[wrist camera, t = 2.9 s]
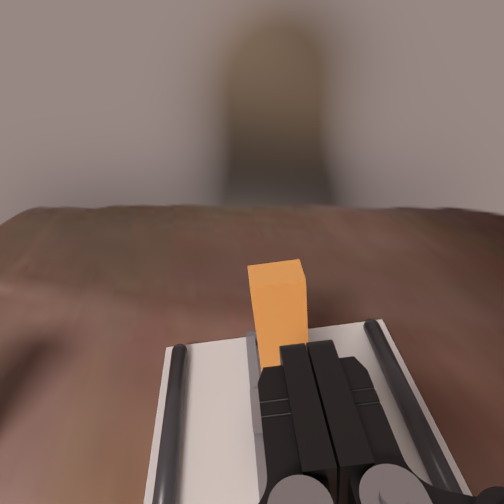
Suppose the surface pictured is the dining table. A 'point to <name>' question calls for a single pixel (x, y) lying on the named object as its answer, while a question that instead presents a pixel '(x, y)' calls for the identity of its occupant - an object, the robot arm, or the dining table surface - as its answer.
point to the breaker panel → (252, 445)
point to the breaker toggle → (276, 315)
